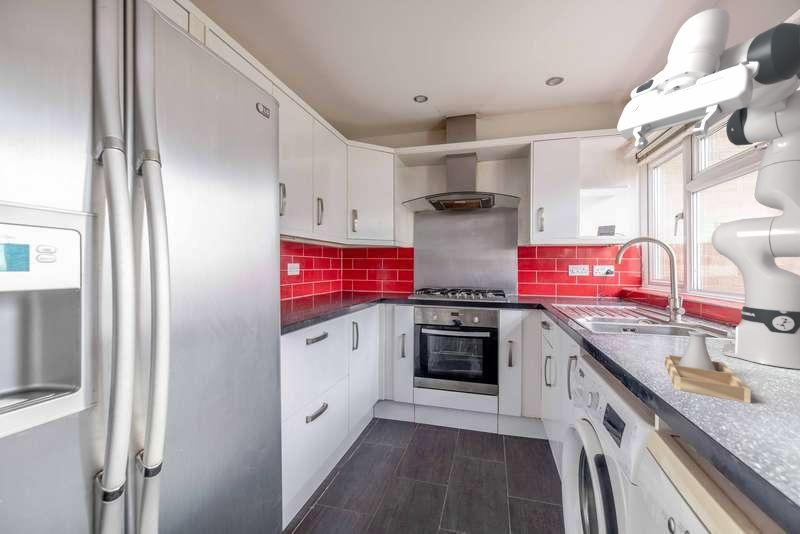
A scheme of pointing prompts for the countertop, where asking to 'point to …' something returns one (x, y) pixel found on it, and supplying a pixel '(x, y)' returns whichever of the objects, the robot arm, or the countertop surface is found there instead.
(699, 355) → the flask
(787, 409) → the countertop surface
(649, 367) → the countertop surface
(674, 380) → the oak caddy
